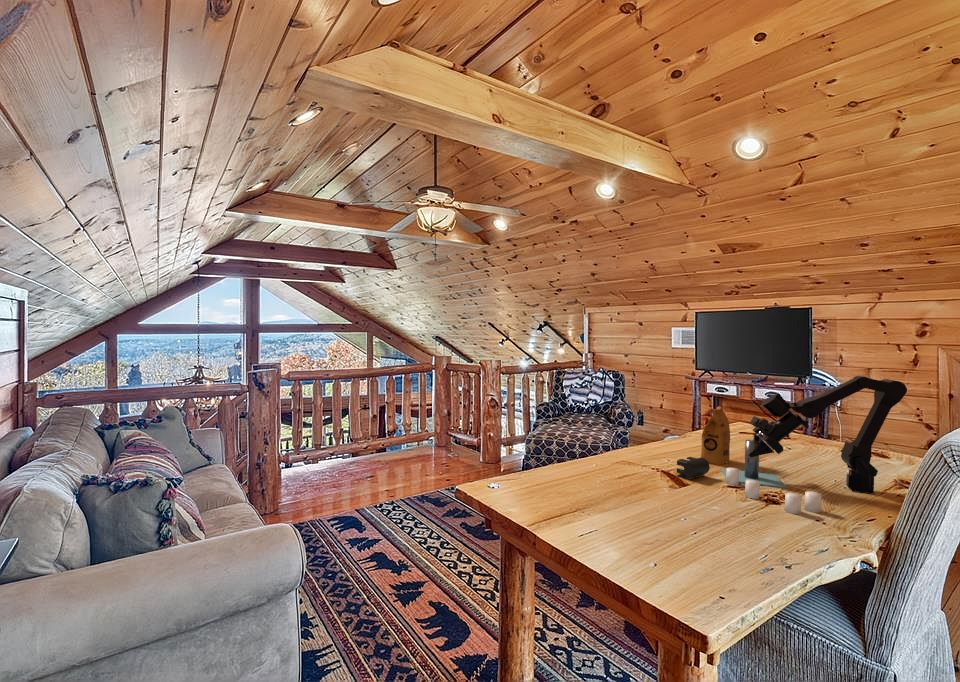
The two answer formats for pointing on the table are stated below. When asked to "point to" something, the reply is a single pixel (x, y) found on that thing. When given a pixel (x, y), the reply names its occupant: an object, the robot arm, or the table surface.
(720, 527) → the table surface
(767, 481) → the mat
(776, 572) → the table surface
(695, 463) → the end cap
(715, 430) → the coffee package
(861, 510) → the table surface
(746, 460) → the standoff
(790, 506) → the spacers
